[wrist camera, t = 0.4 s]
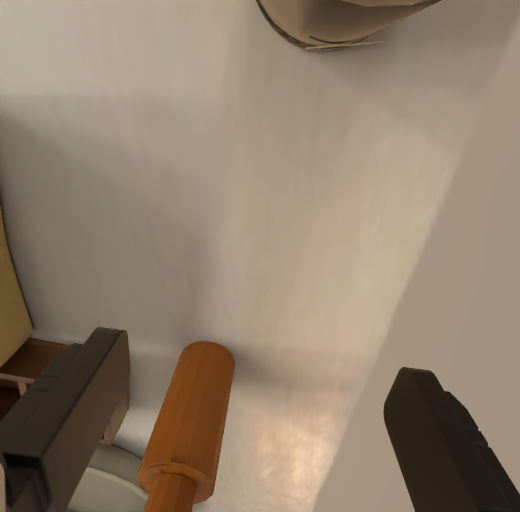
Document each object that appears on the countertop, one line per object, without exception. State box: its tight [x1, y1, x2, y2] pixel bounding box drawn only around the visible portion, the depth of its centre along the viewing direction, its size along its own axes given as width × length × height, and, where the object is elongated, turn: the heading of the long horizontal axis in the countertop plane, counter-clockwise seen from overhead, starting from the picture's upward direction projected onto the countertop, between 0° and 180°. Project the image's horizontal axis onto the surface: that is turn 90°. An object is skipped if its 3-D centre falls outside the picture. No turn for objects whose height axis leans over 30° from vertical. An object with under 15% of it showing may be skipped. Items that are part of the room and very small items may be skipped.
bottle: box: [137, 342, 235, 512], centre depth 28 cm, size 6×6×16 cm
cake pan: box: [65, 443, 149, 512], centre depth 46 cm, size 25×25×4 cm
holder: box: [0, 338, 129, 445], centre depth 35 cm, size 9×17×5 cm, turn 79°
